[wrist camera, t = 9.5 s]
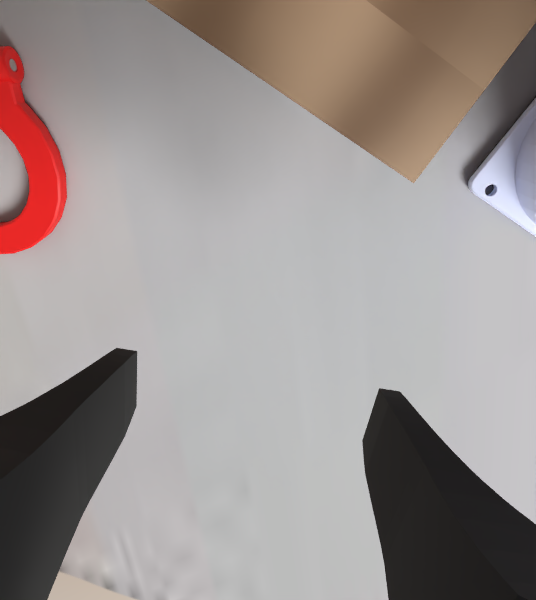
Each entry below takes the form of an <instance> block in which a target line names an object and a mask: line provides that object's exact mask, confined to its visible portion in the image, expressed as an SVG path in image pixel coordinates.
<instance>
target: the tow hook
mask: <svg viewBox="0 0 536 600" xmlns="http://www.w3.org/2000/svg"><path fill="white" fill-rule="evenodd" d="M23 78H24V69H23V64H22V61H21V59H20V57H19V55H18V53H17V52H16V51H15V50H14V49H13V48H12V47H10V46H0V129H1V130H2V131H3V132H4V133H5V134H6V135H7V136H8V137H9V139H10V140H11V141H12V142H13V143H14V144H15V146H16V148H17V150H18V151H19V153H20V155H21V157H22V158H23V160H24V163H25V166H26V170H27V173H28V177H29V195H28V200H27V204H26V206H25V207H24V209H23V211H22V212H21V214H20V215H19V216H18V217H16V218H15V219H14V220H11V221H8V222H0V254H11V253H16V252H19V251H22V250H25V249H28V248H31V247H32V246H34V245H35V244H37V243H38V242H40V241H41V240H42V239H44V238H45V237H46V236H48V235H49V234H50V233H51V232H52V231H53V230H54V228H55V226H56V225H57V223H58V222H59V220H60V219H61V217H62V214H63V210H64V206H65V202H66V198H67V191H66V173H65V170H64V166H63V163H62V159H61V156H60V152H59V150H58V148H57V146H56V144H55V142H54V141H53V139H52V137H51V135H50V133H49V131H48V129H47V127H46V126H45V125H44V124H43V122H42V121H41V120H40V119H39V118H38V116H37V115H36V114H35V113H34V112H33V110H32V109H31V108H30V107H29V106H28V105H27V104H26V103H25V101H24V97H23V93H22V89H21V85H20V83H21V82H22V80H23Z"/></svg>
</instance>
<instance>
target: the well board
mask: <svg viewBox="0 0 536 600" xmlns="http://www.w3.org/2000/svg"><path fill="white" fill-rule="evenodd" d="M146 1H148V2H149V3H151V4H152V5H154V6H155V7H157V8H158V9H160V10H161V11H162V12H164V13H165V14H167V15H168V16H170V17H171V18H173V19H174V20H176V21H177V22H179V23H180V24H182V25H183V26H184V27H186V28H187V29H189V30H190V31H192V32H193V33H195V34H196V35H198V36H199V37H201V38H202V39H203V40H205V41H206V42H208V43H209V44H211V45H212V46H214V47H215V48H217V49H218V50H220V51H221V52H222V53H224V54H225V55H227V56H228V57H230V58H231V59H233V60H234V61H236V62H237V63H239V64H240V65H241V66H243V67H244V68H246V69H247V70H249V71H250V72H252V73H253V74H255V75H256V76H258V77H259V78H261V79H262V80H263V81H265V82H266V83H268V84H269V85H271V86H272V87H274V88H275V89H277V90H278V91H280V92H281V93H282V94H284V95H285V96H287V97H288V98H290V99H291V100H293V101H294V102H296V103H297V104H299V105H300V106H301V107H303V108H304V109H306V110H307V111H309V112H310V113H312V114H313V115H315V116H316V117H318V118H319V119H321V120H322V121H323V122H325V123H326V124H328V125H329V126H331V127H332V128H334V129H335V130H337V131H338V132H340V133H341V134H342V135H344V136H345V137H347V138H348V139H350V140H351V141H353V142H354V143H356V144H357V145H359V146H360V147H361V148H363V149H364V150H366V151H367V152H369V153H370V154H372V155H373V156H375V157H376V158H378V159H379V160H381V161H382V162H383V163H385V164H386V165H388V166H389V167H391V168H392V169H394V170H395V171H397V172H398V173H400V174H401V175H402V176H404V177H405V178H407V179H408V180H410V181H411V182H413V183H414V182H415V181H416V180H417V178H418V177H419V176H420V174H421V173H422V172H423V170H424V169H425V168H426V166H427V165H428V164H429V162H430V161H431V160H432V158H433V157H434V156H435V154H436V153H437V152H438V151H439V149H440V148H441V147H442V145H443V144H444V143H445V141H446V140H447V139H448V137H449V136H450V135H451V133H452V132H453V131H454V129H455V128H456V127H457V126H458V124H459V123H460V122H461V120H462V119H463V118H464V116H465V115H466V114H467V112H468V111H469V110H470V108H471V107H472V106H473V104H474V103H475V102H476V101H477V99H478V98H479V97H480V95H481V94H482V93H483V91H484V90H485V89H486V87H487V86H488V85H489V83H490V82H491V81H492V79H493V78H494V77H495V75H496V74H497V73H498V72H499V70H500V69H501V68H502V66H503V65H504V64H505V62H506V61H507V60H508V58H509V57H510V56H511V54H512V53H513V52H514V50H515V49H516V48H517V47H518V45H519V44H520V43H521V41H522V40H523V39H524V37H525V36H526V35H527V33H528V32H529V31H530V29H531V28H532V27H533V25H534V24H535V23H536V0H146Z"/></svg>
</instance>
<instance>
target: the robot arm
mask: <svg viewBox="0 0 536 600" xmlns="http://www.w3.org/2000/svg"><path fill="white" fill-rule="evenodd" d="M491 184H493V186H494V189H493V191H492V192H491V193H490V194H487V195H486V194H485V189H486V187H487V186H489V185H491ZM468 187H469V190H470V191H471V192H472V193H473V194H475V195H476V196H478V197H479V198H481V199H482V200H483V201H485V202H486V203H488V204H489V205H491V206H492V207H493V208H495V209H496V210H498V211H499V212H501V213H502V214H503V215H505V216H506V217H508V218H509V219H511V220H512V221H513V222H515V223H516V224H518V225H519V226H521V227H522V228H523V229H525V230H526V231H528V232H529V233H531V234H532V235H533V236H535V237H536V98H535V99H534V100H533V102H532V103H531V104H530V105H529V106H528V108H527V109H526V110H525V111H524V113H523V114H522V115H521V116H520V118H519V119H518V120H517V121H516V122H515V124H514V125H513V126H512V127H511V129H510V130H509V131H508V132H507V133H506V135H505V136H504V137H503V138H502V140H501V141H500V142H499V143H498V144H497V146H496V147H495V148H494V149H493V151H492V152H491V153H490V154H489V156H488V157H487V158H486V159H485V160H484V162H483V163H482V164H481V165H480V167H479V168H478V169H477V170H476V171H475V173H474V174H473V175H472V176H471V178H470V180H469V183H468ZM136 394H137V351H133V350H126V349H120V348H116V349H114V350H113V351H111V352H109V353H108V354H106V355H105V356H103V357H102V358H100V359H99V360H97V361H96V362H94V363H93V364H91V365H90V366H88V367H87V368H85V369H84V370H82V371H81V372H79V373H78V374H76V375H74V376H73V377H71V378H70V379H68V380H67V381H65V382H63V383H62V384H60V385H58V386H57V387H55V388H53V389H51V390H50V391H48V392H46V393H44V394H43V395H41V396H39V397H37V398H36V399H34V400H32V401H30V402H28V403H26V404H25V405H23V406H21V407H19V408H17V409H15V410H13V411H10V412H8V413H6V414H4V415H2V416H0V600H47V599H48V596H49V594H50V591H51V589H52V586H53V584H54V581H55V579H56V576H57V574H58V571H59V569H60V567H61V564H62V562H63V559H64V557H65V554H66V552H67V550H68V547H69V545H70V542H71V540H72V538H73V535H74V533H75V531H76V528H77V526H78V524H79V521H80V519H81V517H82V515H83V513H84V511H85V509H86V507H87V505H88V503H89V501H90V499H91V497H92V496H93V494H94V492H95V490H96V488H97V487H98V485H99V483H100V481H101V479H102V477H103V476H104V474H105V472H106V470H107V468H108V466H109V465H110V463H111V461H112V459H113V457H114V455H115V454H116V452H117V450H118V448H119V446H120V444H121V442H122V440H123V439H124V437H125V434H126V432H127V429H128V427H129V424H130V422H131V419H132V416H133V414H134V411H135V408H136ZM363 454H364V465H365V474H366V479H367V484H368V488H369V493H370V498H371V502H372V507H373V511H374V516H375V520H376V525H377V529H378V534H379V538H380V543H381V548H382V553H383V559H384V565H385V573H386V581H387V589H388V598H389V600H536V524H534V523H533V522H532V521H531V520H529V519H528V518H527V517H525V516H524V515H523V514H521V513H520V512H519V511H518V510H516V509H515V508H514V507H513V506H511V505H510V504H509V503H508V502H506V501H505V500H504V499H503V498H502V497H500V496H499V495H498V494H497V493H496V492H495V491H494V490H493V489H491V488H490V487H489V486H488V485H487V484H486V483H485V482H483V481H482V480H481V479H480V478H479V477H478V476H477V475H476V474H475V473H474V472H473V471H472V470H471V469H470V468H469V467H468V466H467V465H466V464H465V463H464V462H463V461H462V460H461V459H460V458H459V457H458V456H457V455H456V454H455V453H454V452H453V451H452V450H451V449H450V448H449V447H448V446H447V445H446V444H445V443H444V442H443V440H442V439H441V438H440V437H439V436H438V435H437V434H436V433H435V432H434V430H433V429H432V428H431V427H430V426H429V425H428V424H427V422H426V421H425V420H424V419H423V418H422V417H421V415H420V414H419V413H418V412H417V411H416V410H415V408H414V407H413V406H412V405H411V404H410V402H409V401H408V400H407V399H406V398H405V397H404V396H403V395H402V394H401V392H399V391H393V390H386V389H380V388H379V391H378V394H377V397H376V400H375V403H374V406H373V409H372V413H371V416H370V419H369V422H368V425H367V428H366V431H365V434H364V438H363Z"/></svg>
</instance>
